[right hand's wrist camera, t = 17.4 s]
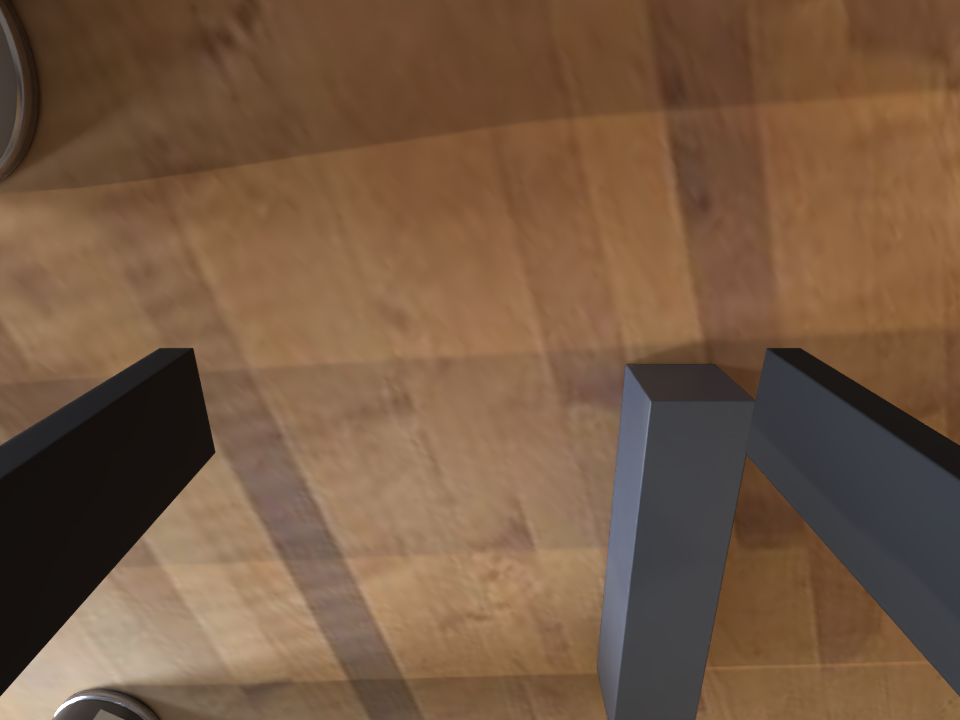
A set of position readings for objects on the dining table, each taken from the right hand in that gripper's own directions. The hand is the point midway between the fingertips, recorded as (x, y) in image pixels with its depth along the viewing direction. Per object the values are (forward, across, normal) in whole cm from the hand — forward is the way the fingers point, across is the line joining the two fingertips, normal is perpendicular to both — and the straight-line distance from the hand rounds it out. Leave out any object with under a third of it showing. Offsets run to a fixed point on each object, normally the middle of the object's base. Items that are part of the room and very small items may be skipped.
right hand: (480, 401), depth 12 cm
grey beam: (+22, +13, -22) cm, 33 cm away
